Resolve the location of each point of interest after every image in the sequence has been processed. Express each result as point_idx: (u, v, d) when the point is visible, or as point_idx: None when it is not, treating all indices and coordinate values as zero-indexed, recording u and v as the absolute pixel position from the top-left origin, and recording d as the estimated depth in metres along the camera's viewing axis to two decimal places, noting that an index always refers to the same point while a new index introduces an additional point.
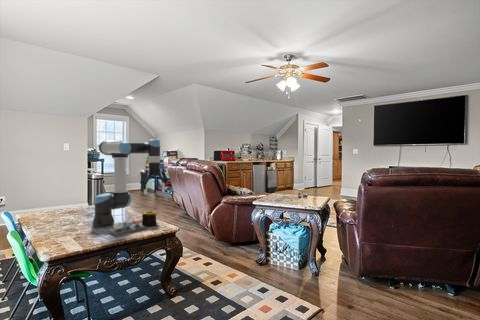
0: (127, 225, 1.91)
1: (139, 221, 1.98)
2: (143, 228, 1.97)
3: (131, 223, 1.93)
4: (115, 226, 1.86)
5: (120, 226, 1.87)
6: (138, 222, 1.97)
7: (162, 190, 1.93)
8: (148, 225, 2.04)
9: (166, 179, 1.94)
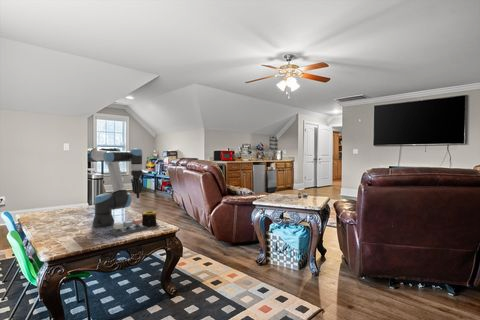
0: (127, 225, 1.91)
1: (139, 221, 1.98)
2: (143, 228, 1.97)
3: (131, 223, 1.93)
4: (115, 226, 1.86)
5: (120, 226, 1.87)
6: (138, 222, 1.97)
7: None
8: (148, 225, 2.04)
9: (137, 190, 1.95)
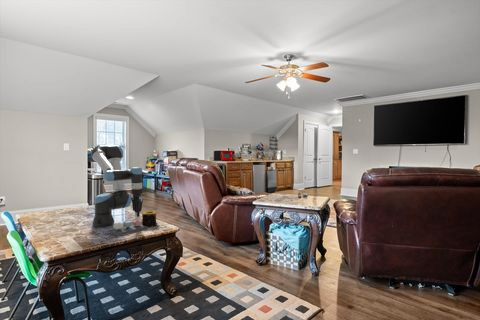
0: (127, 225, 1.91)
1: (139, 222, 1.98)
2: (143, 228, 1.97)
3: (131, 223, 1.93)
4: (115, 226, 1.86)
5: (120, 226, 1.87)
6: (138, 223, 1.97)
7: None
8: (148, 225, 2.04)
9: (137, 209, 1.96)
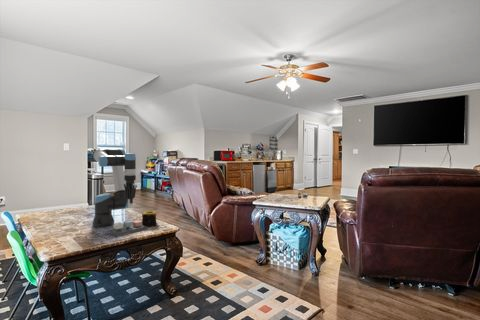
0: (127, 225, 1.91)
1: (139, 223, 1.98)
2: (143, 228, 1.97)
3: (131, 223, 1.93)
4: (115, 226, 1.86)
5: (120, 226, 1.87)
6: (138, 224, 1.98)
7: None
8: (148, 225, 2.04)
9: (131, 196, 1.92)
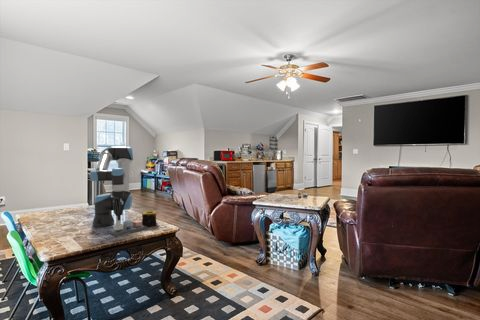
0: (127, 225, 1.91)
1: (139, 223, 1.98)
2: (143, 228, 1.97)
3: (131, 223, 1.93)
4: (115, 227, 1.86)
5: (120, 227, 1.87)
6: (138, 224, 1.98)
7: None
8: (148, 225, 2.04)
9: (118, 212, 1.85)
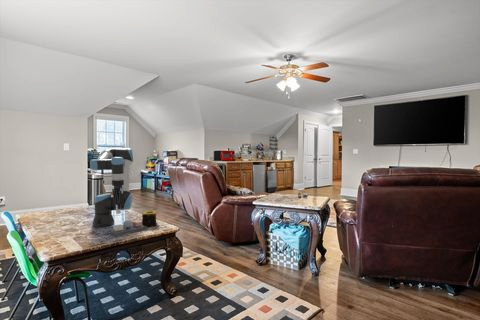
0: (127, 225, 1.91)
1: (139, 223, 1.98)
2: (143, 228, 1.97)
3: (131, 223, 1.93)
4: (115, 228, 1.86)
5: (120, 228, 1.87)
6: (138, 224, 1.98)
7: None
8: (148, 225, 2.04)
9: (118, 201, 1.85)
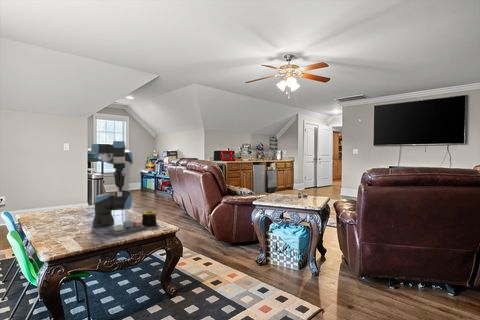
0: (127, 225, 1.91)
1: (139, 223, 1.98)
2: (143, 228, 1.97)
3: (131, 223, 1.93)
4: (115, 228, 1.86)
5: (120, 228, 1.87)
6: (138, 224, 1.98)
7: None
8: (148, 225, 2.04)
9: (119, 184, 1.89)
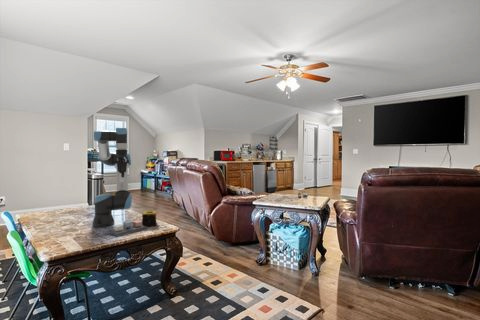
0: (127, 225, 1.91)
1: (139, 223, 1.98)
2: (143, 228, 1.97)
3: (131, 223, 1.93)
4: (115, 228, 1.86)
5: (120, 228, 1.87)
6: (138, 224, 1.98)
7: None
8: (148, 225, 2.04)
9: (122, 169, 1.95)
